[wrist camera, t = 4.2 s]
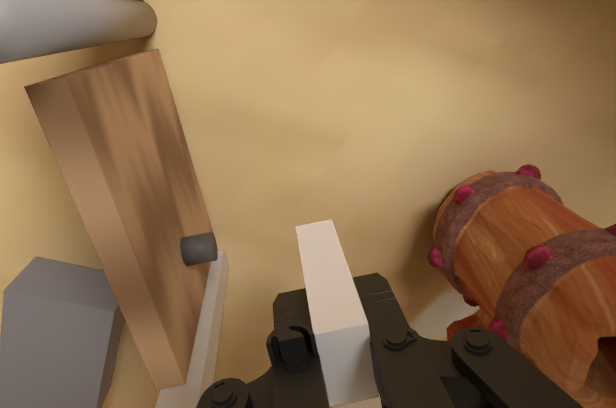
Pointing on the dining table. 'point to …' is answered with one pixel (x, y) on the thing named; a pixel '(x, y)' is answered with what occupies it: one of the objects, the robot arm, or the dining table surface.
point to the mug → (534, 277)
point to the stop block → (58, 337)
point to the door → (135, 199)
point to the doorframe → (92, 32)
